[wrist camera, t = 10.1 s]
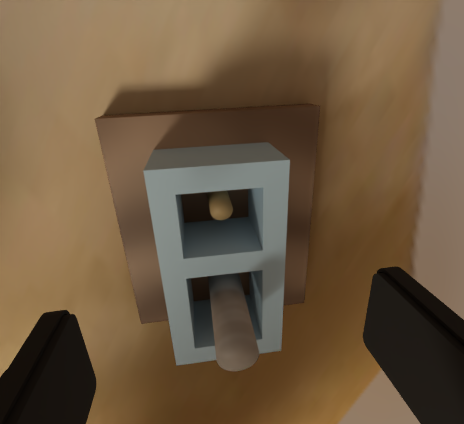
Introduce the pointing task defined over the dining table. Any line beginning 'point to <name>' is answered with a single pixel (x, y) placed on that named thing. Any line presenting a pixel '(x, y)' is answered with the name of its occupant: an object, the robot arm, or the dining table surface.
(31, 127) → the dining table surface
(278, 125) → the post block
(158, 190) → the hollow blue brick
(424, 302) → the robot arm
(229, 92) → the dining table surface
